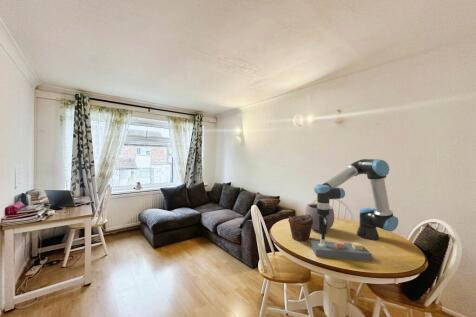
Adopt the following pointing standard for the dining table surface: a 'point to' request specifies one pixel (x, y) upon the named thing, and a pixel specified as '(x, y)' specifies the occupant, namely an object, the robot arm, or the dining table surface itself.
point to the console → (340, 251)
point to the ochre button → (357, 246)
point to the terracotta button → (339, 244)
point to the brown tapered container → (301, 227)
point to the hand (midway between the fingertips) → (322, 243)
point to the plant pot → (312, 211)
